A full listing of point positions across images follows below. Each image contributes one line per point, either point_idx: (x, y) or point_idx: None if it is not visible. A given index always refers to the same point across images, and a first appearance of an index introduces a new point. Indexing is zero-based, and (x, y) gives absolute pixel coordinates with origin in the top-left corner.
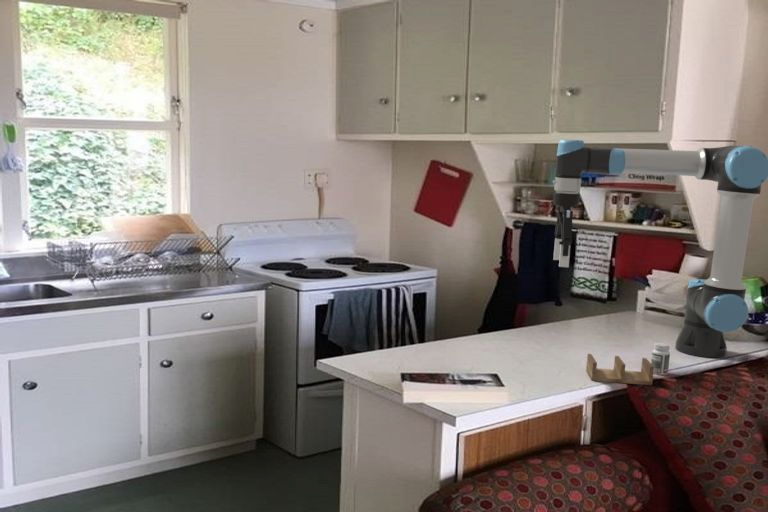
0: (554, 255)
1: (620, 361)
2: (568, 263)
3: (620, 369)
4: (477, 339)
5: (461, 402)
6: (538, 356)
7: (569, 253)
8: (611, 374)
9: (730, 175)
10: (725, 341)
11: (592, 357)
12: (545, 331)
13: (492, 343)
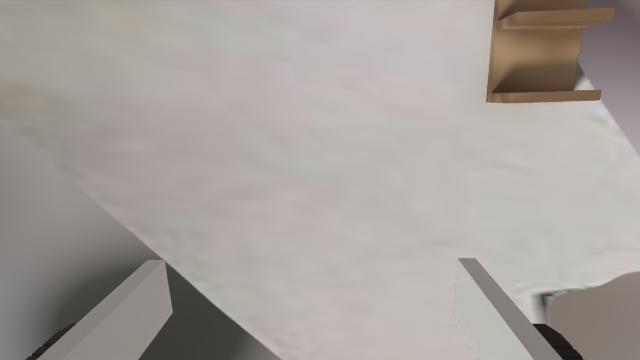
0: (158, 330)
1: (577, 16)
2: (485, 274)
3: (593, 23)
4: (271, 321)
5: None
6: (380, 201)
7: (530, 323)
8: (542, 44)
9: None
10: None
11: (545, 94)
12: (120, 164)
13: (295, 293)
